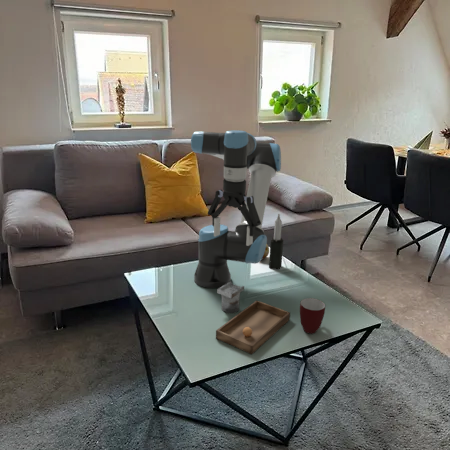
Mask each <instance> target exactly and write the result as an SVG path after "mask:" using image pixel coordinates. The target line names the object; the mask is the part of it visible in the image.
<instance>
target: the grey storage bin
mask: <svg viewBox="0 0 450 450" xmlns="http://www.w3.org/2000/svg"><path fill="white" fill-rule="evenodd" d="M216 290H217V291H216V293H217V294H219V295H221V305H220V306H221V311H223V312H224V313H226V314H235V313H238V311H239V310H240V294H241V293H242V292H244V291H245V285H242V286H239V285H236V284H234V283H232V281H230V282H228V283H227V284H225V285H223V286H222V287H219V288H216Z"/></svg>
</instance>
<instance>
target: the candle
mask: <svg viewBox="0 0 450 450" xmlns="http://www.w3.org/2000/svg"><path fill="white" fill-rule="evenodd" d="M282 224H283V222H282V219H281V214H280V213H278V214H277V217H276V219H275V220H274V230H273V231H274V232H273V233H274V234H273V237H272V238H271V239H270V245H269V246H270V247H269V261H268V269H273V270H277V271H279V270H281V268H282V261H283V250H284V239H283V238H281V237H282Z"/></svg>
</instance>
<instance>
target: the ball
mask: <svg viewBox="0 0 450 450" xmlns="http://www.w3.org/2000/svg"><path fill="white" fill-rule="evenodd" d="M243 334H244V335H245V336H247V337H248V336H250V335H251V334H252V329H251V328H250V327H245V328H244V329H243Z"/></svg>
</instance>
